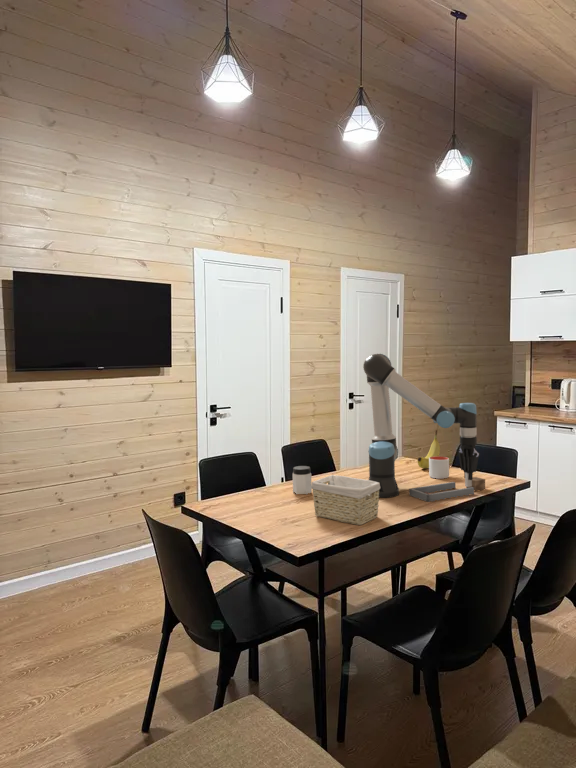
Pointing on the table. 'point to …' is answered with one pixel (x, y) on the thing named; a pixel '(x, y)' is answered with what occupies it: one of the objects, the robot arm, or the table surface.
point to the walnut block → (478, 483)
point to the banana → (430, 453)
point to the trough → (425, 492)
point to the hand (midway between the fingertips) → (468, 486)
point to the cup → (439, 467)
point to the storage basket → (346, 499)
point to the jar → (302, 480)
